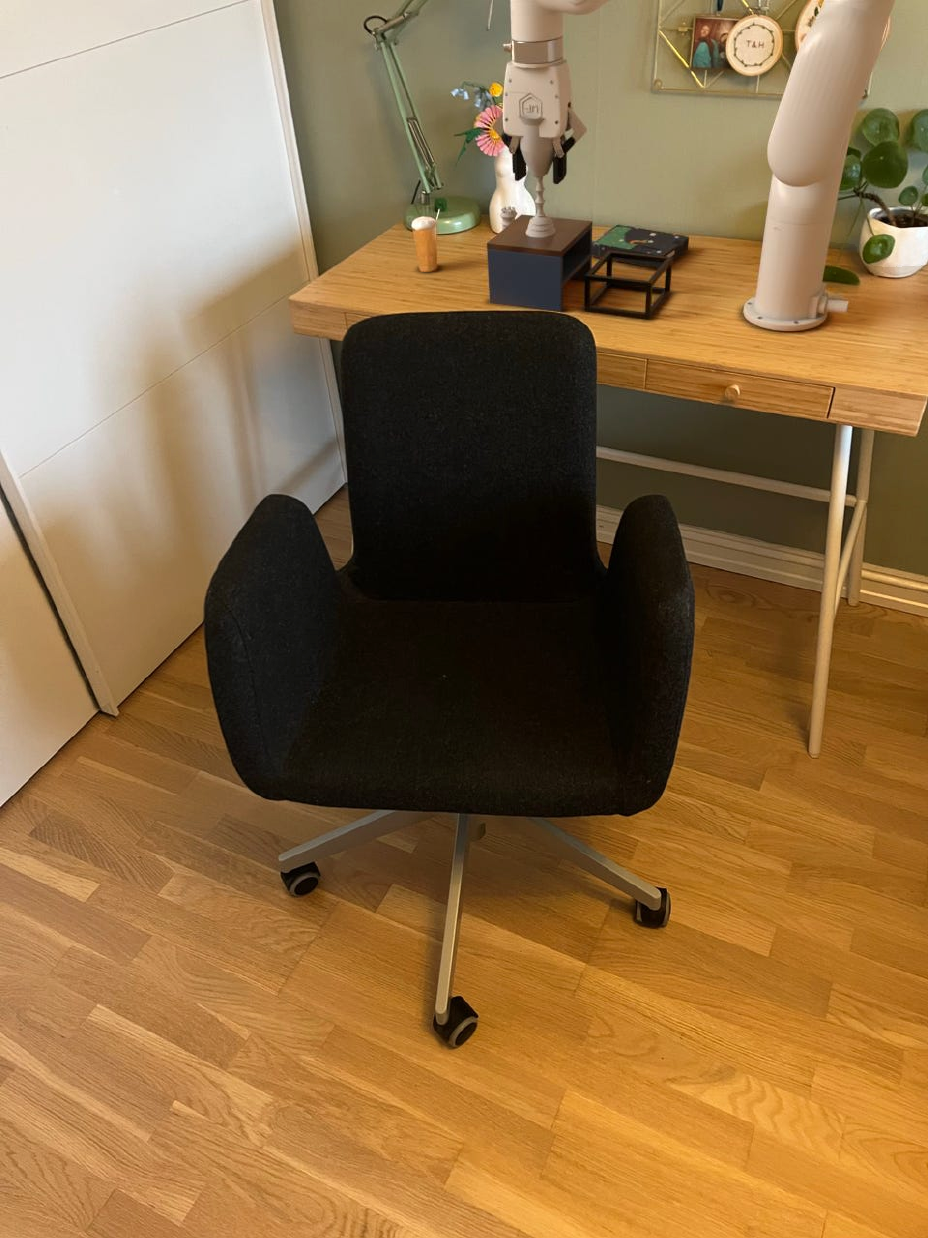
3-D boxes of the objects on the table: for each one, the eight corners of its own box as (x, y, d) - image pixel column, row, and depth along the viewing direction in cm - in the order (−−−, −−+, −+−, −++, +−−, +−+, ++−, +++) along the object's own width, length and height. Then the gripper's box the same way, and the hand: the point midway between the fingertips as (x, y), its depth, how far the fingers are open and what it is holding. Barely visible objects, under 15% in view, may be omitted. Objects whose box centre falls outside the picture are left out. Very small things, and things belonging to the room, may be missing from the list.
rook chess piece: (516, 246, 182) (514, 202, 176) (525, 254, 178) (524, 209, 173) (494, 251, 181) (492, 207, 175) (503, 259, 177) (501, 214, 172)
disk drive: (688, 251, 174) (616, 238, 181) (690, 235, 172) (617, 222, 179) (662, 271, 168) (588, 256, 175) (663, 255, 166) (589, 241, 173)
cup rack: (670, 292, 161) (672, 257, 157) (649, 319, 154) (651, 283, 150) (607, 285, 165) (608, 250, 161) (583, 311, 158) (584, 275, 154)
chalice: (558, 239, 155) (557, 117, 144) (516, 239, 157) (512, 119, 145) (564, 223, 161) (563, 104, 149) (523, 223, 162) (520, 106, 150)
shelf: (591, 279, 167) (592, 220, 161) (561, 312, 158) (560, 251, 152) (523, 271, 172) (521, 214, 166) (489, 302, 163) (486, 242, 157)
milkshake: (448, 269, 175) (444, 212, 169) (421, 275, 174) (415, 218, 168) (439, 261, 179) (435, 205, 172) (412, 267, 177) (406, 211, 171)
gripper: (473, 55, 142) (480, 183, 154) (583, 58, 136) (581, 191, 148) (495, 44, 147) (500, 168, 159) (601, 46, 141) (599, 176, 153)
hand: (539, 178), depth 153 cm, fingers closed on chalice, 5 cm apart
